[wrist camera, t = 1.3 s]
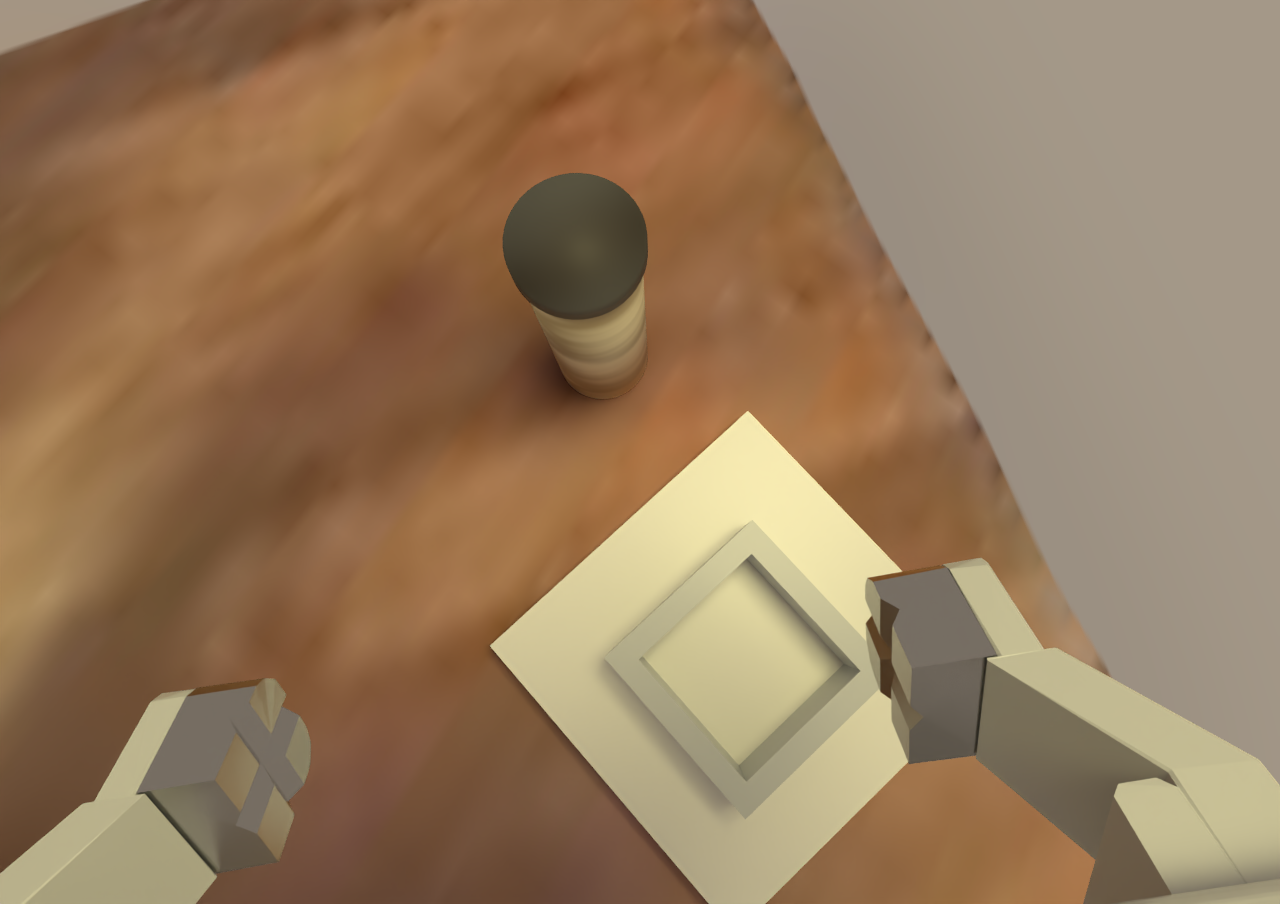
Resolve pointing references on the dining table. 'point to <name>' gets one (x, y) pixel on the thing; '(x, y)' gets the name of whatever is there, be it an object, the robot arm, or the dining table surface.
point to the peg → (584, 278)
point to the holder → (722, 667)
